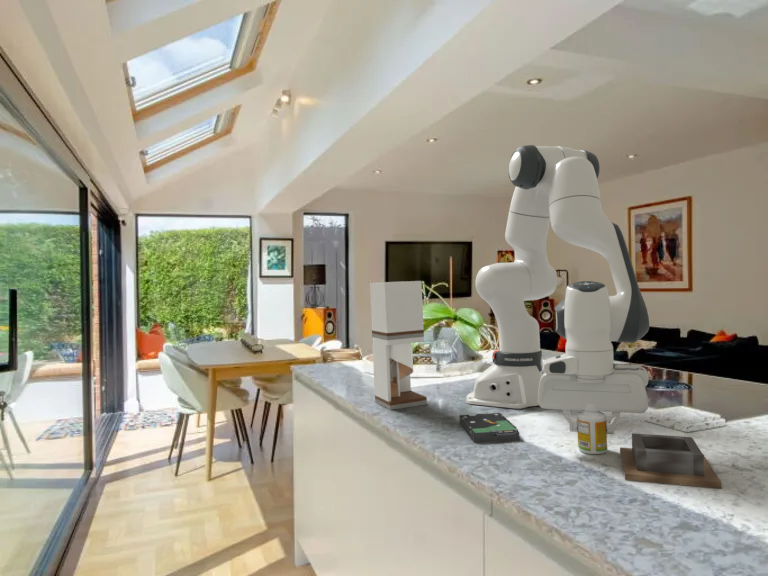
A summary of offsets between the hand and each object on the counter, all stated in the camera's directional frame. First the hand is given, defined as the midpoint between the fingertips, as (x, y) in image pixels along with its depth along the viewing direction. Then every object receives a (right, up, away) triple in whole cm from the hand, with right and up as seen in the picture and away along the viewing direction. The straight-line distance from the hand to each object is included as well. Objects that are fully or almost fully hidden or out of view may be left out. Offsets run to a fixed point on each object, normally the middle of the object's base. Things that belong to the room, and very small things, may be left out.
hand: (591, 432), depth 102 cm
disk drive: (-18, -5, +16) cm, 24 cm away
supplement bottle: (0, -4, 0) cm, 4 cm away
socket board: (+9, -3, -11) cm, 14 cm away
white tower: (-37, -5, +46) cm, 59 cm away
